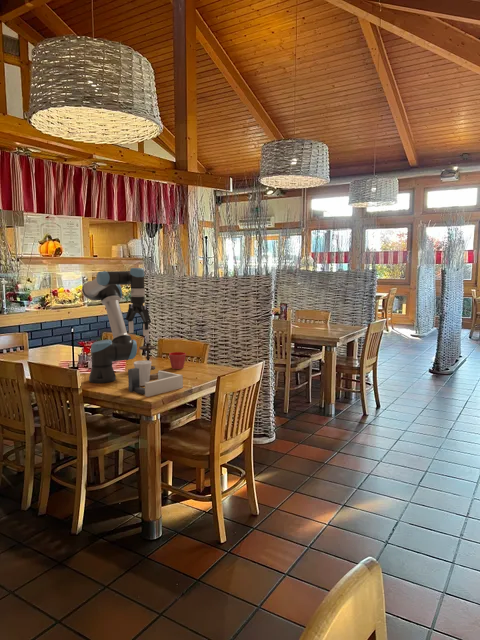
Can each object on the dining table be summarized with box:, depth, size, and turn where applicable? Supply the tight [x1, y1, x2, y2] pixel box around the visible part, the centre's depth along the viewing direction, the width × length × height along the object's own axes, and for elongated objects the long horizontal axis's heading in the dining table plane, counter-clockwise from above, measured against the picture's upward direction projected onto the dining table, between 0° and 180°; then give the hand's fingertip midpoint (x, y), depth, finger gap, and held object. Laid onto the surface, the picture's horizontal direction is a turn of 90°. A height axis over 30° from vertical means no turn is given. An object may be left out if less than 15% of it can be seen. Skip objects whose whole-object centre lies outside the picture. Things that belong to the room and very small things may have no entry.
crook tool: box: [127, 367, 145, 396], centre depth 258 cm, size 14×20×12 cm
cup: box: [133, 359, 152, 387], centre depth 267 cm, size 10×10×13 cm
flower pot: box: [168, 351, 187, 370], centre depth 313 cm, size 11×11×10 cm
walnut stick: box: [149, 372, 158, 381], centre depth 280 cm, size 16×3×3 cm, turn 134°
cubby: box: [144, 370, 184, 398], centre depth 258 cm, size 19×24×7 cm
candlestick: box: [138, 323, 157, 371], centre depth 309 cm, size 11×11×35 cm
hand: (138, 334), depth 264 cm, fingers open, 13 cm apart
